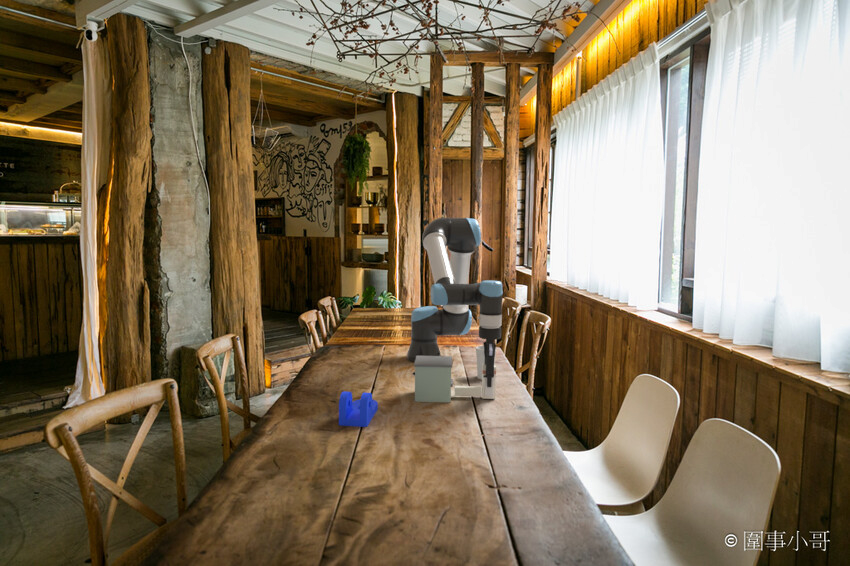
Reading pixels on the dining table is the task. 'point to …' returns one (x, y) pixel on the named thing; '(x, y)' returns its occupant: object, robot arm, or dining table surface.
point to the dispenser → (433, 378)
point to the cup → (481, 360)
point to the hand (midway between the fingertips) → (488, 393)
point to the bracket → (356, 410)
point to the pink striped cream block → (475, 390)
